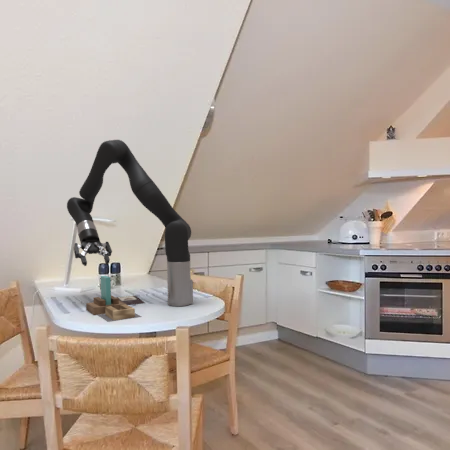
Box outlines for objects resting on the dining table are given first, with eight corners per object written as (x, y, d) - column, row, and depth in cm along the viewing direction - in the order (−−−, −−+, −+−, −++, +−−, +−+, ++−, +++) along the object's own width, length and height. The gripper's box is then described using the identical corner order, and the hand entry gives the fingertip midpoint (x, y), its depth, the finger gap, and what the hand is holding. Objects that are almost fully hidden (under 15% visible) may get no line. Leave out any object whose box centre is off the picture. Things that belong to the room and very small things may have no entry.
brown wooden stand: (117, 307, 170) (117, 294, 170) (126, 311, 161) (126, 298, 161) (86, 311, 163) (85, 297, 163) (94, 316, 155) (93, 302, 155)
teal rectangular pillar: (105, 301, 165) (105, 275, 165) (111, 304, 160) (110, 277, 160) (101, 302, 164) (100, 276, 164) (106, 305, 159) (105, 277, 159)
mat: (129, 311, 161) (129, 310, 161) (142, 317, 151) (142, 316, 151) (97, 316, 155) (97, 315, 155) (108, 323, 145) (108, 321, 145)
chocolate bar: (123, 305, 171) (114, 297, 187) (123, 307, 171) (114, 299, 187) (145, 302, 174) (135, 295, 191) (145, 305, 174) (135, 297, 191)
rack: (125, 312, 158) (125, 304, 158) (134, 317, 151) (134, 308, 151) (105, 315, 154) (105, 306, 154) (114, 320, 147) (113, 311, 147)
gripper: (71, 228, 174) (79, 259, 164) (106, 227, 182) (116, 256, 172) (68, 240, 178) (76, 271, 169) (103, 239, 186) (112, 268, 177)
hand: (96, 263), depth 171 cm, fingers open, 8 cm apart
